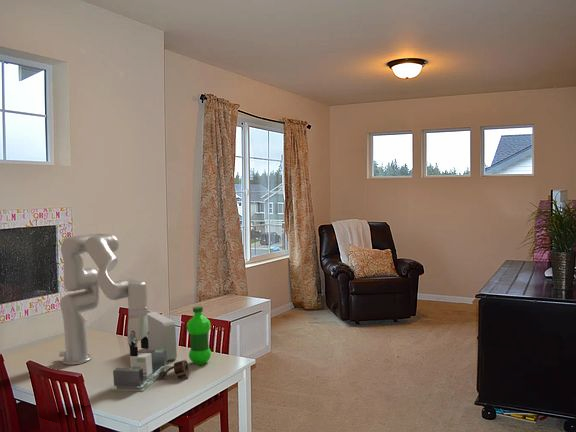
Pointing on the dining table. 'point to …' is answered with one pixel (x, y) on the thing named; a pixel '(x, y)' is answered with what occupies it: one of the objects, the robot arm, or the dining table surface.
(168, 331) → the rounded white slab
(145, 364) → the block
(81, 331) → the robot arm
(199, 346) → the plastic bottle
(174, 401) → the dining table surface
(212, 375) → the dining table surface
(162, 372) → the brown antique clock
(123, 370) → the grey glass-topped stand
